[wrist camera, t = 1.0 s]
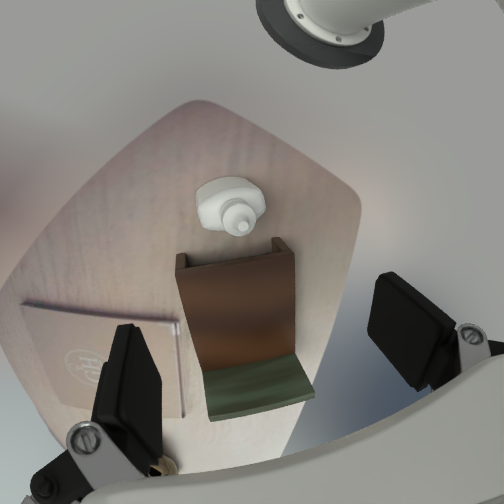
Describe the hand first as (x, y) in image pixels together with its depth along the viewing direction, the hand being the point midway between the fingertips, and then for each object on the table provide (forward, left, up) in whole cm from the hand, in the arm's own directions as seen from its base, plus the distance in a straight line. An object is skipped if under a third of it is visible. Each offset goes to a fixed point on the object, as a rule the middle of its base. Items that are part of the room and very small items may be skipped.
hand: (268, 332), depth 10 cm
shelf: (+12, +1, -21) cm, 24 cm away
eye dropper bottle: (-1, +1, -21) cm, 21 cm away
